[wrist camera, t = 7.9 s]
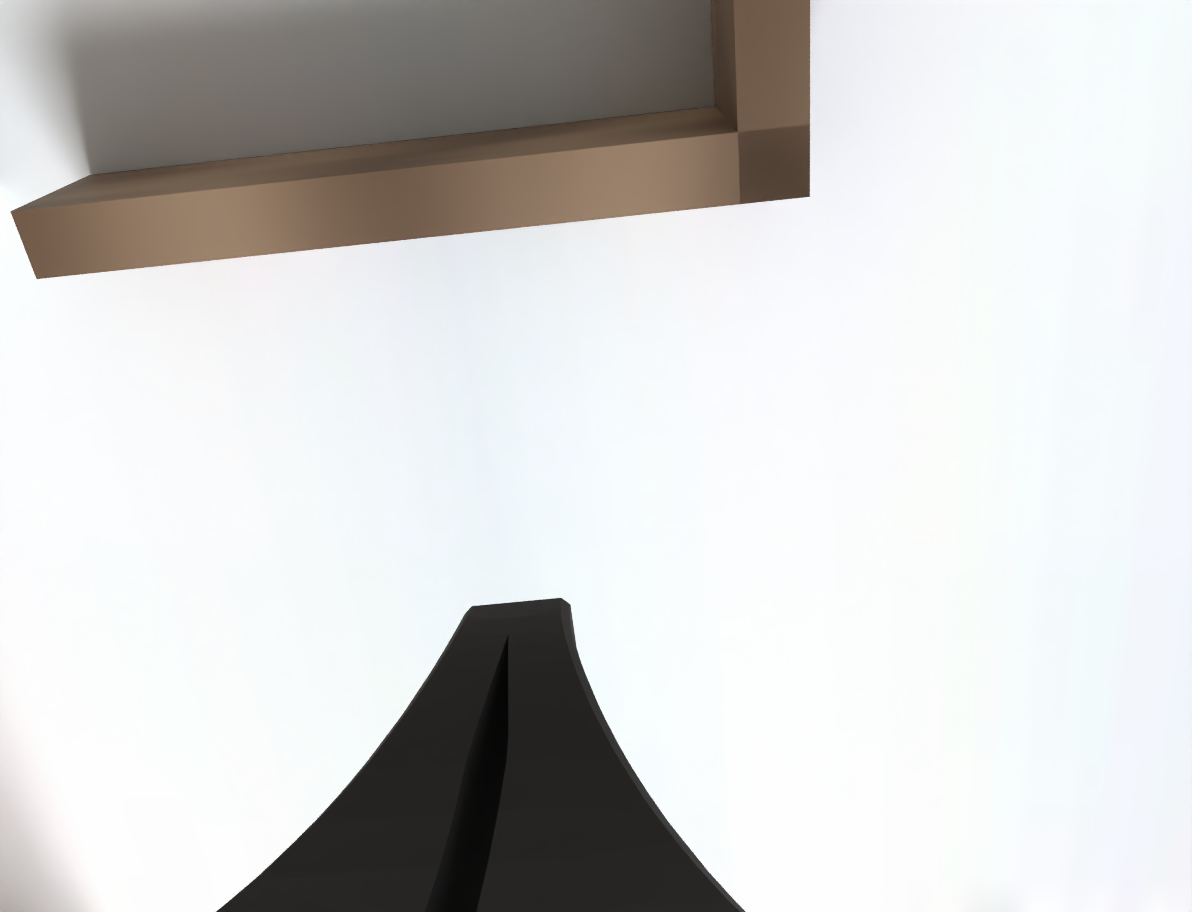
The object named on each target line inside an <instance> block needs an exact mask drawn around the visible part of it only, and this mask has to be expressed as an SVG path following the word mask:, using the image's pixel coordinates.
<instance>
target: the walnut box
mask: <svg viewBox="0 0 1192 912" xmlns="http://www.w3.org/2000/svg"><path fill="white" fill-rule="evenodd" d="M711 14H712V38H713V62H714V85H715V106H714V107H705V108H696V109H687V110H678V111H669V112H660V113H651V114H641V115H632V116H623V117H614V118H605V119H596V120H587V121H578V122H569V123H560V124H551V125H542V126H532V127H523V128H514V129H505V130H496V131H487V132H478V133H469V134H460V135H451V136H442V137H433V138H423V139H414V140H405V141H396V142H387V143H378V144H369V145H360V146H351V147H342V148H333V149H324V150H314V151H305V152H296V153H287V154H278V155H269V156H260V157H251V158H242V159H233V160H224V161H215V162H205V163H196V164H187V165H178V166H169V167H160V168H151V169H142V170H133V171H124V172H115V173H106V174H96V175H89V176H87V177H85V178H82V179H80V180H78V181H76V182H74V183H72V184H69V185H67V186H65V187H63V188H61V189H59V190H56V191H54V192H52V193H50V194H48V195H46V196H43V197H41V198H39V199H37V200H35V201H32V202H30V203H28V204H26V205H24V206H22V207H19V208H17V209H15V210H13V211H11V214H12V216H13V219H14V222H15V224H16V227H17V229H18V232H19V235H20V237H21V240H22V242H23V245H24V247H25V250H26V253H27V255H28V258H29V260H30V263H31V266H32V268H33V271H34V273H35V276H36V278H37V279H41V278H50V277H60V276H69V275H79V274H88V273H97V272H107V271H116V270H125V269H135V268H144V267H154V266H163V265H172V264H182V263H191V262H201V261H210V260H219V259H229V258H238V257H248V256H257V255H266V254H276V253H285V252H294V251H304V250H313V249H323V248H332V247H341V246H351V245H360V244H370V243H379V242H388V241H398V240H407V239H417V238H426V237H435V236H445V235H454V234H463V233H473V232H482V231H492V230H501V229H510V228H520V227H529V226H539V225H548V224H557V223H567V222H576V221H586V220H595V219H604V218H614V217H623V216H632V215H642V214H651V213H661V212H670V211H679V210H689V209H698V208H708V207H717V206H726V205H736V204H745V203H755V202H764V201H773V200H783V199H792V198H801V197H810V0H711Z"/></svg>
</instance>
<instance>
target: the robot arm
mask: <svg viewBox="0 0 1192 912" xmlns="http://www.w3.org/2000/svg"><path fill="white" fill-rule="evenodd" d="M216 912H745V911H744V910H743V909H742V908H741V907H740V906H739V905H738V904H737V903H736V902H735V900H734V899H733V898H732V897H731V896H730V895H729V894H728V893H727V892H726V891H725V889H724V888H723V887H722V886H721V885H720V884H719V883H718V882H717V881H716V880H715V878H714V877H713V876H712V875H711V874H710V873H709V872H708V871H707V870H706V868H705V867H704V866H703V865H702V863H701V862H700V861H699V860H698V858H697V857H696V856H695V855H694V853H693V852H692V851H691V850H690V848H689V847H688V846H687V845H686V843H685V842H684V841H683V840H682V838H681V837H680V836H679V835H678V833H677V832H676V831H675V830H674V828H673V827H672V826H671V825H670V823H669V822H668V821H667V819H666V818H665V817H664V815H663V814H662V812H661V811H660V809H659V808H658V807H657V805H656V804H655V802H654V801H653V799H652V798H651V797H650V795H649V794H648V792H647V791H646V789H645V787H644V786H643V784H642V783H641V781H640V780H639V778H638V777H637V775H636V773H635V772H634V770H633V769H632V767H631V765H630V764H629V762H628V760H627V759H626V757H625V755H624V753H623V752H622V750H621V748H620V746H619V745H618V743H617V741H616V739H615V737H614V735H613V733H612V731H611V729H610V727H609V726H608V724H607V722H606V720H605V718H604V716H603V714H602V711H601V709H600V707H599V705H598V703H597V701H596V698H595V696H594V694H593V691H592V689H591V686H590V684H589V682H588V679H587V677H586V675H585V672H584V669H583V667H582V664H581V661H580V658H579V655H578V651H577V648H576V641H575V634H574V627H573V620H572V613H571V606H570V604H569V603H567V602H566V601H565V600H563V599H562V598H555V599H545V600H534V601H523V602H512V603H502V604H491V605H480V606H472V607H471V608H470V609H469V610H468V611H467V612H466V613H465V615H464V617H463V618H462V620H461V622H460V624H459V626H458V627H457V629H456V631H455V633H454V634H453V636H452V638H451V640H450V641H449V643H448V645H447V646H446V648H445V650H444V651H443V653H442V655H441V656H440V658H439V660H438V661H437V663H436V665H435V666H434V668H433V669H432V671H431V673H430V674H429V676H428V677H427V679H426V680H425V682H424V683H423V685H422V686H421V688H420V689H419V691H418V692H417V694H416V695H415V697H414V698H413V700H412V701H411V703H410V704H409V706H408V707H407V709H406V710H405V712H404V713H403V714H402V716H401V717H400V719H399V720H398V722H397V723H396V724H395V725H394V727H393V728H392V729H391V731H390V732H389V733H388V735H387V736H386V737H385V739H384V740H383V741H382V743H381V744H380V745H379V747H378V748H377V749H376V751H375V752H374V753H373V755H372V756H371V757H370V759H369V760H368V761H367V762H366V764H365V765H364V766H363V767H362V769H361V770H360V771H359V772H358V773H357V775H356V776H355V777H354V778H353V779H352V781H351V782H350V783H349V784H348V785H347V786H346V788H345V789H344V790H343V791H342V792H341V793H340V795H339V796H338V797H337V798H336V799H335V800H334V801H333V802H332V803H331V804H330V806H329V807H328V808H327V809H326V810H325V811H324V812H323V813H322V814H321V815H320V817H319V818H318V819H317V820H316V821H315V822H314V823H313V824H312V825H311V826H310V827H309V828H308V829H307V830H306V831H305V832H304V833H303V834H302V835H301V836H300V837H299V838H298V839H297V840H296V841H295V842H294V843H293V844H292V845H291V846H290V847H289V848H288V849H287V850H285V851H284V852H283V853H282V854H281V855H280V856H279V857H278V858H277V859H276V860H275V861H274V862H273V863H272V864H271V865H270V866H269V867H268V868H267V869H266V870H264V871H263V872H262V873H261V874H260V875H259V876H258V877H257V878H256V879H255V880H253V881H252V882H251V883H250V884H249V885H248V886H246V887H245V888H244V889H243V890H242V891H240V892H239V893H238V894H237V895H236V896H235V897H233V898H232V899H231V900H230V901H229V902H228V903H226V904H225V905H224V906H223V907H221V908H220V909H219V910H218V911H216Z"/></svg>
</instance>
